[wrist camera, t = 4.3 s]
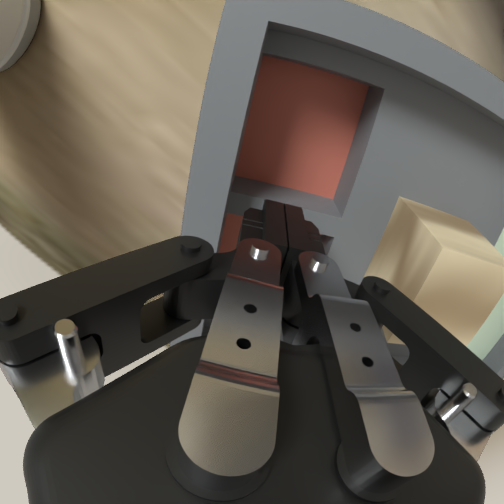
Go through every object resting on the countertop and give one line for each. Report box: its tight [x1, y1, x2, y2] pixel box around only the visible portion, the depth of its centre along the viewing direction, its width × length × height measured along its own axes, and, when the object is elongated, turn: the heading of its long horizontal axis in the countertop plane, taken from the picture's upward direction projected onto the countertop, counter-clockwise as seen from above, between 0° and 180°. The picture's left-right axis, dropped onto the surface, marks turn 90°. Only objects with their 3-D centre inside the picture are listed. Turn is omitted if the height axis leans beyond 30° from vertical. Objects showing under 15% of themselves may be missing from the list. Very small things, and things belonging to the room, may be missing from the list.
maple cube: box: [364, 196, 504, 346], centre depth 13 cm, size 4×4×4 cm
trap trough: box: [170, 0, 504, 390], centre depth 15 cm, size 18×24×4 cm
